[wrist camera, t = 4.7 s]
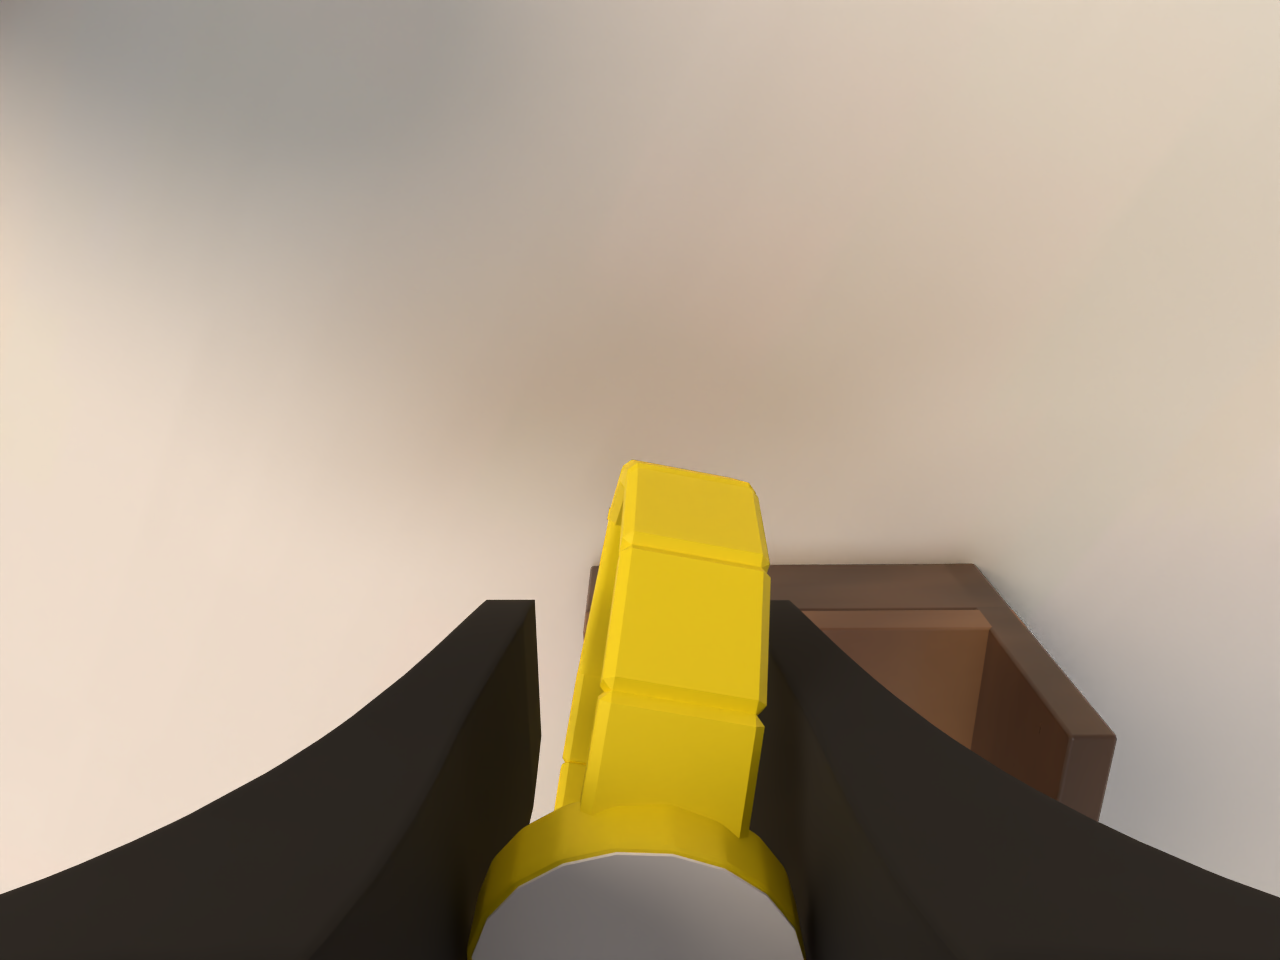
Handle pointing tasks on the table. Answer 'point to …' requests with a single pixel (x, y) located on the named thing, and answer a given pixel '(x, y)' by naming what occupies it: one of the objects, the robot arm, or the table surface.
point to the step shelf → (958, 667)
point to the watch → (657, 751)
